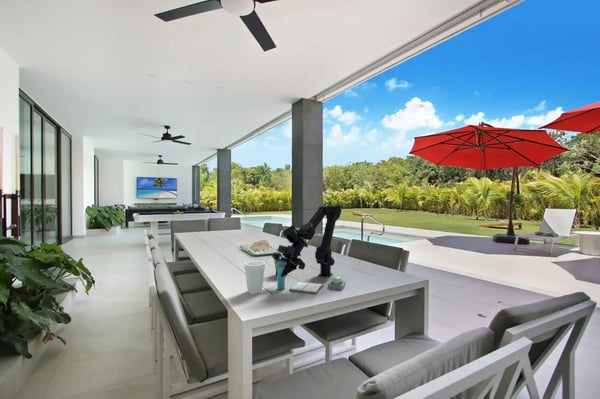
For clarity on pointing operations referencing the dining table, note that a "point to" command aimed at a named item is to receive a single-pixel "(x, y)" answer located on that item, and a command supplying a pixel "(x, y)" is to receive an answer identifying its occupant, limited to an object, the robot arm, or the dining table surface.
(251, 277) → the foam cup
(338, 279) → the button
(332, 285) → the button housing
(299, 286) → the patchwork square coaster
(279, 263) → the cylinder
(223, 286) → the dining table surface
